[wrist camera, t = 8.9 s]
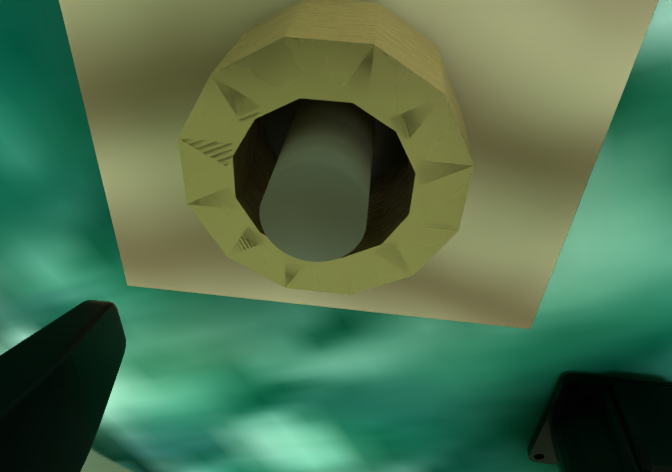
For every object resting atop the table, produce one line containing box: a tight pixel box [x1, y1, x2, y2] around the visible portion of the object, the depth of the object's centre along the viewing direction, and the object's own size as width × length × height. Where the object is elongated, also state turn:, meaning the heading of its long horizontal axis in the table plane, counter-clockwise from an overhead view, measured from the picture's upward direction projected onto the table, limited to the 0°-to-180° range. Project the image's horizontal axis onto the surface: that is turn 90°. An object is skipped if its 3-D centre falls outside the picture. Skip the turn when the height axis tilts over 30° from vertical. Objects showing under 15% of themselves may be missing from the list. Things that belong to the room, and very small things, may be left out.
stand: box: [59, 0, 659, 329], centre depth 15 cm, size 16×16×7 cm
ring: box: [178, 0, 474, 295], centre depth 14 cm, size 7×7×4 cm
